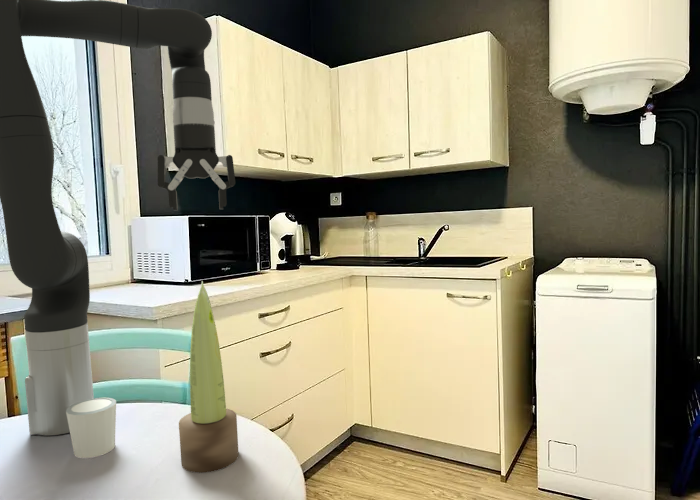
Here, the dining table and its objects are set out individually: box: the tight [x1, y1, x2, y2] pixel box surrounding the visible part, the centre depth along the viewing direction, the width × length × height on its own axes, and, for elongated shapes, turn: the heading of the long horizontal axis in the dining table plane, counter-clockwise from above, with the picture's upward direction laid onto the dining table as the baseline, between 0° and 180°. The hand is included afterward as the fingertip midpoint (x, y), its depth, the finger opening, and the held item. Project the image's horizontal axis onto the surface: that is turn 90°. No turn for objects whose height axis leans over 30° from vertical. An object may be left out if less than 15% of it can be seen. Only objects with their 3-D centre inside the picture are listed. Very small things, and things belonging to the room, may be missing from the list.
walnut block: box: [178, 408, 240, 474], centre depth 74 cm, size 8×8×6 cm
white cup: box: [66, 396, 117, 459], centre depth 78 cm, size 7×7×7 cm
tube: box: [189, 280, 227, 424], centre depth 73 cm, size 6×5×20 cm
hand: (198, 209), depth 99 cm, fingers open, 8 cm apart
